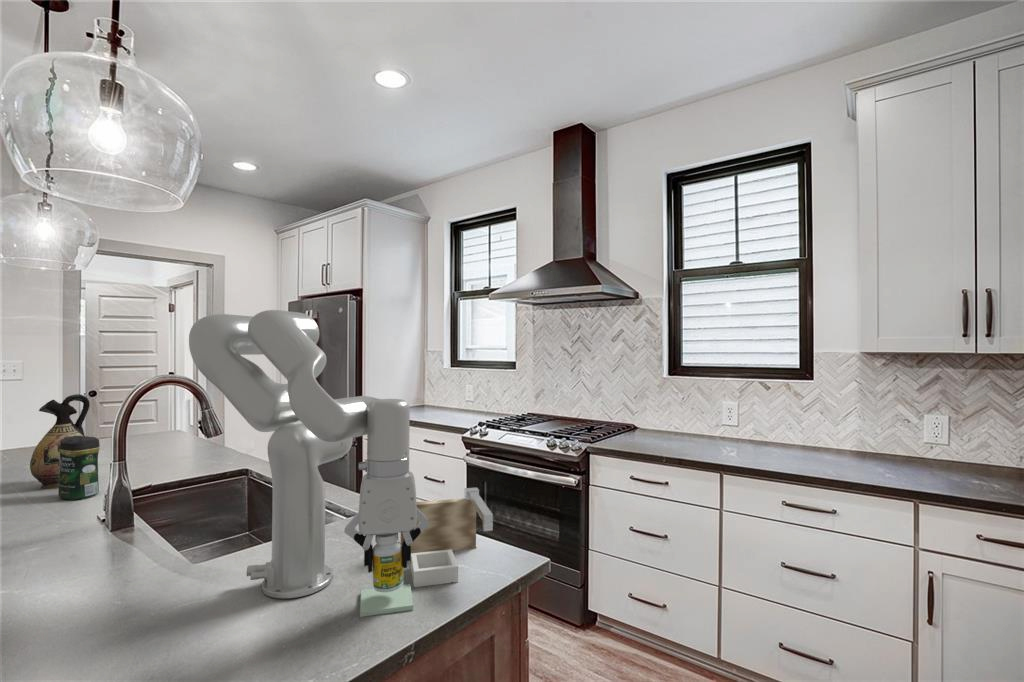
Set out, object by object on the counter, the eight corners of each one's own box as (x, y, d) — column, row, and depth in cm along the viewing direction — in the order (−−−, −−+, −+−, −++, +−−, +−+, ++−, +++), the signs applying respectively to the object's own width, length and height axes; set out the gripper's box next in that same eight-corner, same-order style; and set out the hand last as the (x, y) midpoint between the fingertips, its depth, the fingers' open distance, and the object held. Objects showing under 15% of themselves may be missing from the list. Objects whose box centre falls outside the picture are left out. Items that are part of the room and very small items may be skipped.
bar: (480, 531, 96) (481, 514, 96) (464, 502, 114) (464, 488, 114) (495, 530, 97) (495, 513, 97) (476, 501, 115) (477, 487, 115)
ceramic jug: (31, 494, 150) (33, 397, 150) (27, 485, 160) (30, 394, 160) (102, 483, 162) (104, 394, 163) (94, 475, 173) (97, 391, 173)
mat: (359, 616, 83) (359, 612, 83) (361, 594, 91) (361, 589, 91) (413, 609, 85) (413, 605, 85) (410, 588, 93) (410, 584, 93)
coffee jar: (52, 498, 146) (54, 437, 146) (82, 491, 153) (84, 432, 154) (73, 502, 143) (75, 439, 143) (103, 494, 150) (105, 434, 151)
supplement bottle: (397, 576, 92) (396, 525, 92) (407, 587, 87) (406, 534, 87) (369, 584, 89) (367, 532, 89) (378, 596, 84) (377, 541, 84)
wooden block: (400, 555, 108) (401, 505, 108) (400, 552, 110) (401, 503, 110) (475, 547, 112) (476, 500, 112) (474, 544, 114) (474, 497, 114)
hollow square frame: (413, 587, 93) (414, 571, 93) (410, 567, 102) (410, 553, 102) (458, 581, 96) (458, 566, 96) (451, 563, 104) (451, 549, 104)
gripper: (337, 475, 83) (336, 582, 82) (437, 469, 87) (437, 570, 87) (340, 465, 90) (339, 564, 89) (433, 460, 94) (432, 553, 94)
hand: (387, 566), depth 88 cm, fingers closed on supplement bottle, 5 cm apart
